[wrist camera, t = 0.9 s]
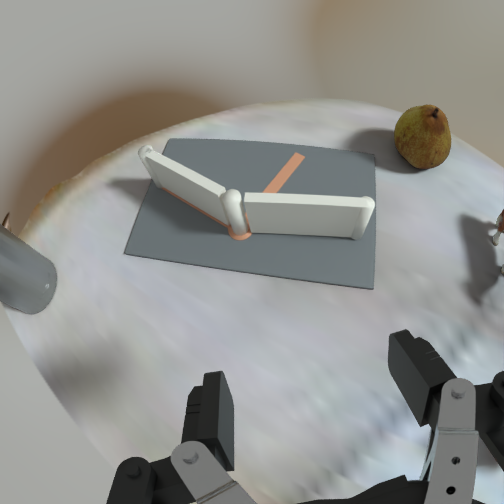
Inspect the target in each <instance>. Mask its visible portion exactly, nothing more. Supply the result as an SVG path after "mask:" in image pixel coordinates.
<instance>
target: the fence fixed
mask: <svg viewBox="0 0 504 504" xmlns="http://www.w3.org/2000/svg"><path fill="white" fill-rule="evenodd" d="M138 155H139V157H140V159H141V160H142V162H143V164H144V166H145V167H146V169H147V171H148V173H149V174H150V176H151V178H152V179H153V181H154V183H155V185H156V186H157V187H158V188H160V189H161V188H166V189H167V190H169V191H171V192H172V193H174V194H176V195H177V196H179V197H181V198H182V199H184V200H186V201H187V202H189V203H191V204H193V205H194V206H196V207H198V208H199V209H201V210H203V211H204V212H206V213H208V214H209V215H211V216H213V217H214V218H216V219H218V220H219V221H221V222H223V223H224V224H226V225H228V226H229V225H230V224H231V227H232V230H233V232H234V233H235V234H236V235H238V236H242V235H245V234H246V233H247V232H248V229H249V228H248V223H247V219H246V215H245V211H244V207H243V202H242V198H241V194H240V192H239V191H238V190H235V189H230V190H227V191H226V190H225V187H223V186H221V185H219V184H217V183H216V182H214V181H212V180H210V179H208V178H206V177H204V176H202V175H200V174H198V173H197V172H195V171H193V170H191V169H189V168H187V167H185V166H183V165H181V164H179V163H177V162H175V161H173V160H171V159H169V158H167V157H165V156H164V155H162V154H160V153H158V152H156V151H154V150H153V149H152V147H151V146H150V145H145V146H143V147H141V148H140V149H139V151H138Z"/></svg>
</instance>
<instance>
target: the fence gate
mask: <svg viewBox="0 0 504 504" xmlns="http://www.w3.org/2000/svg"><path fill="white" fill-rule="evenodd" d="M244 205H245V209H246V213H247V217H248V222H249V226H250V230H251V233H274V234H296V235H316V236H336V237H351V238H352V239H354V240H359V239H361V238H362V236H363V234H364V231H365V229H366V226H367V224H368V222H369V219H370V217H371V214H372V212H373V209H374V207H375V202H374V200H373V199H372V198H370V197H368V196H363V197H361V198H359V197H344V196H327V195H307V194H283V193H249V192H245V197H244Z"/></svg>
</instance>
